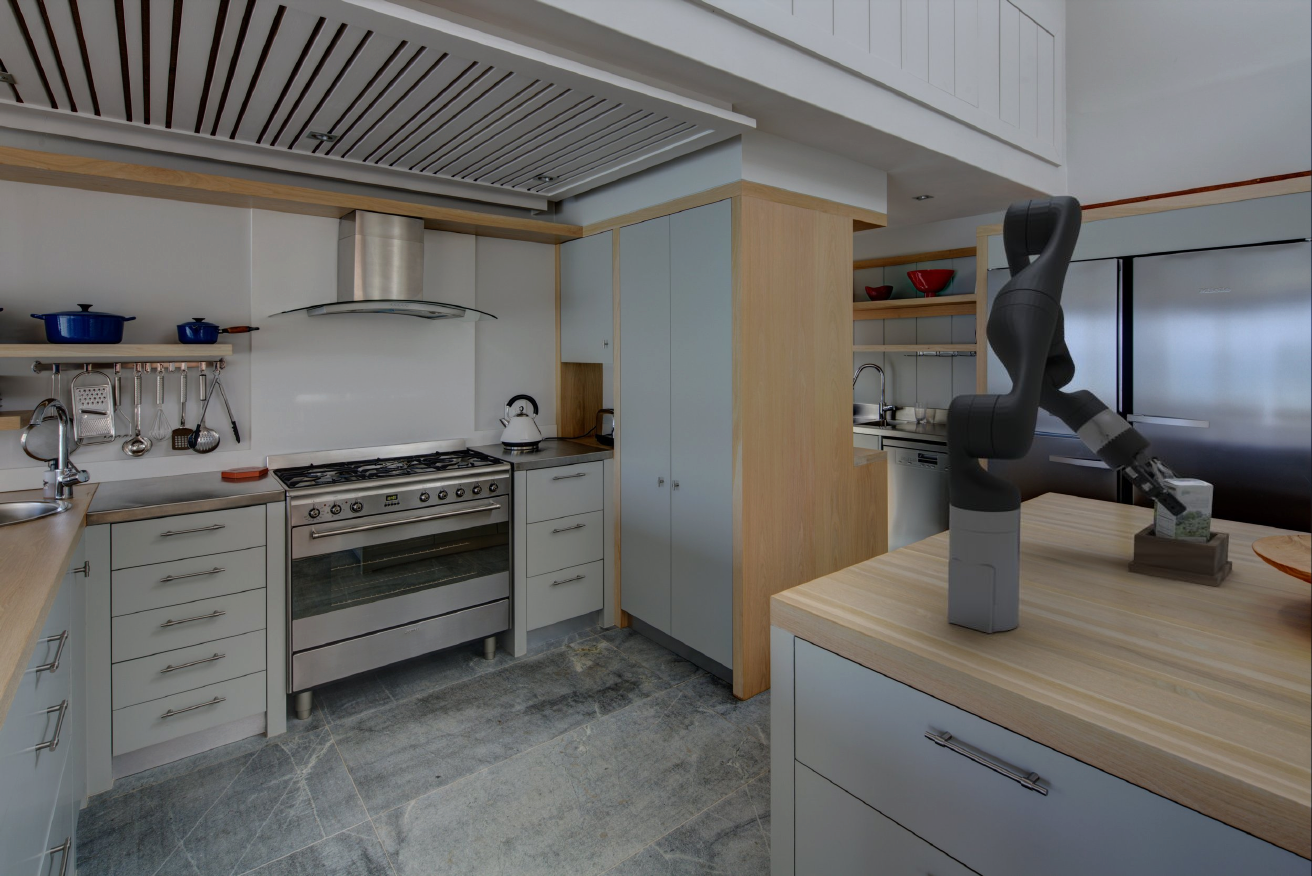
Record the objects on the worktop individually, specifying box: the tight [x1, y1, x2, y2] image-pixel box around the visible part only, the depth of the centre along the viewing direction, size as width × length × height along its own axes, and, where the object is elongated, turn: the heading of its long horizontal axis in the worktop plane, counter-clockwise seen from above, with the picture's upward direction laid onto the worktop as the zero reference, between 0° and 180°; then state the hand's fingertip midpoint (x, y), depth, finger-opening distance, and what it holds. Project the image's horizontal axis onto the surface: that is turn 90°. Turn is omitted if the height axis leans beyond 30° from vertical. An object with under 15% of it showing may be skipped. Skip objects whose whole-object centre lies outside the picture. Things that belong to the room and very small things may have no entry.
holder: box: [1127, 523, 1233, 588], centre depth 113 cm, size 12×12×6 cm
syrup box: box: [1152, 478, 1214, 544], centre depth 113 cm, size 6×6×14 cm
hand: (1188, 509), depth 112 cm, fingers open, 8 cm apart
